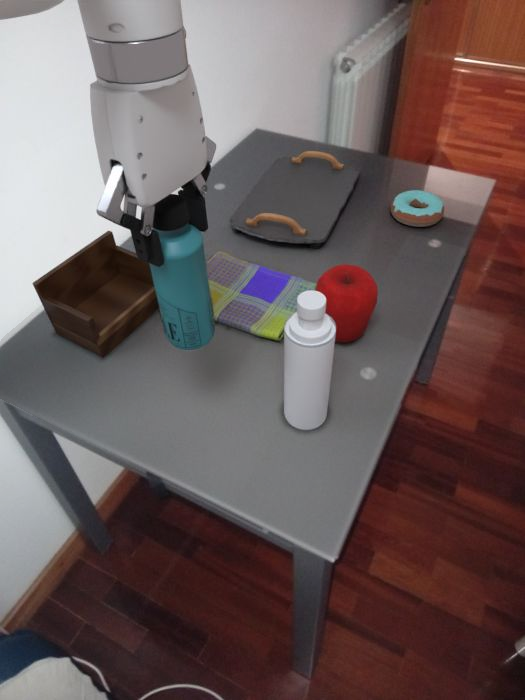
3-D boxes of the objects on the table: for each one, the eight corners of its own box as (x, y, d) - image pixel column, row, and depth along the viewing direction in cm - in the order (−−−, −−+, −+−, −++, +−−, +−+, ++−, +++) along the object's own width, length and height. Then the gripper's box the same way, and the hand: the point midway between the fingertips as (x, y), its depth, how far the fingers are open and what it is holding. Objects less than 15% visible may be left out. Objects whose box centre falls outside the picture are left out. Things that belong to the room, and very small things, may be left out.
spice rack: (103, 358, 86) (82, 307, 77) (56, 333, 91) (31, 283, 82) (168, 299, 96) (157, 248, 87) (123, 280, 101) (108, 230, 92)
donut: (447, 209, 115) (452, 193, 112) (434, 235, 108) (439, 219, 105) (398, 198, 119) (400, 183, 116) (382, 223, 112) (385, 207, 109)
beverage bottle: (226, 332, 64) (212, 191, 50) (200, 367, 60) (176, 224, 46) (184, 318, 66) (158, 179, 52) (156, 351, 62) (119, 209, 48)
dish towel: (276, 350, 86) (275, 338, 84) (169, 303, 96) (167, 292, 93) (322, 293, 96) (323, 282, 94) (222, 256, 105) (220, 245, 103)
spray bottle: (322, 393, 79) (333, 269, 61) (330, 427, 75) (346, 304, 56) (281, 398, 79) (280, 274, 61) (287, 433, 74) (289, 311, 56)
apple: (369, 356, 84) (381, 295, 75) (310, 350, 86) (314, 290, 76) (370, 314, 92) (381, 254, 82) (315, 310, 93) (319, 250, 83)
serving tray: (280, 162, 134) (280, 139, 129) (364, 175, 128) (367, 151, 123) (221, 239, 110) (219, 215, 105) (321, 260, 103) (323, 235, 99)
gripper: (173, 23, 46) (196, 198, 59) (20, 80, 36) (89, 276, 49) (240, 34, 43) (248, 216, 56) (93, 99, 33) (145, 301, 46)
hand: (174, 242), depth 52 cm, fingers closed on beverage bottle, 6 cm apart
